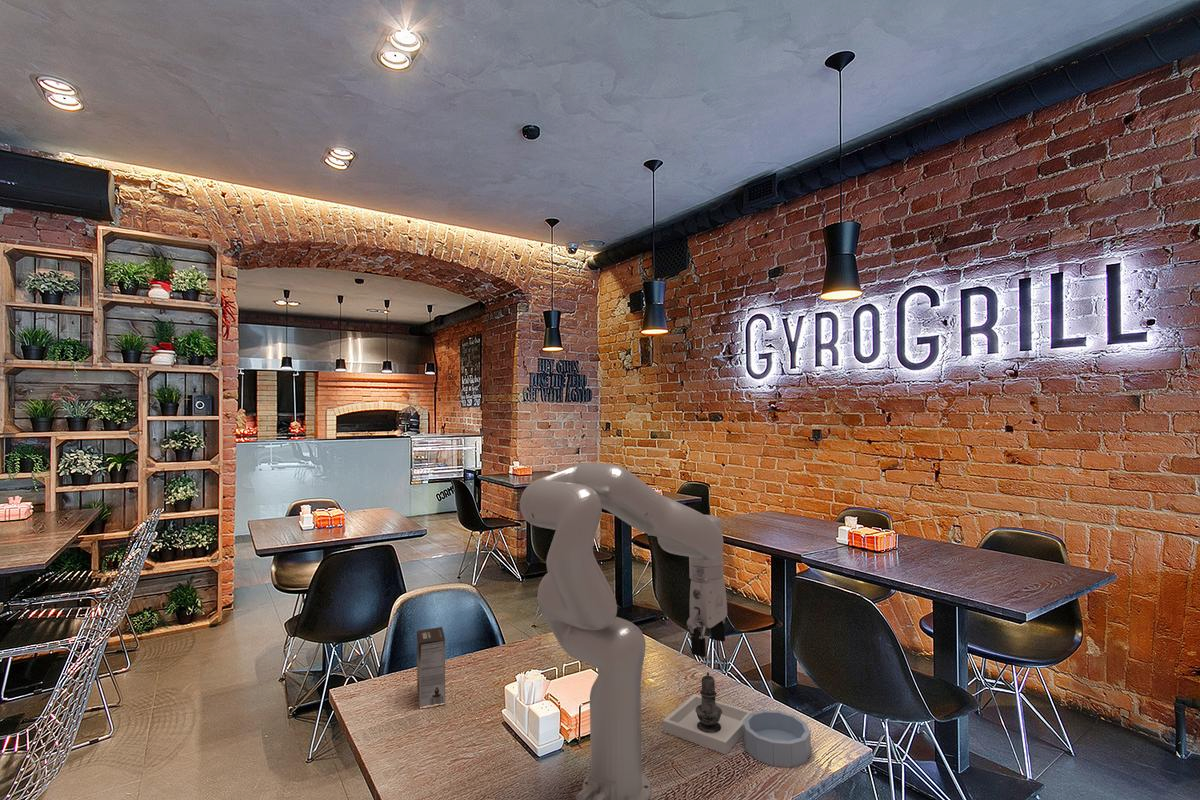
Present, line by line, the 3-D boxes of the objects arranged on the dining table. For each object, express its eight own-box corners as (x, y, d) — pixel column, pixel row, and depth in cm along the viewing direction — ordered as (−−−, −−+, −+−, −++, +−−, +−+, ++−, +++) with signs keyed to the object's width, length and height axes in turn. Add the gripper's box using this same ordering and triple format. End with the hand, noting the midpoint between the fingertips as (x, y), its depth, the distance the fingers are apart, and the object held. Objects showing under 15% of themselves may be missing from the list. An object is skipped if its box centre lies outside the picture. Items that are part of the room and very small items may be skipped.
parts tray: (726, 755, 118) (725, 742, 118) (662, 731, 127) (662, 720, 127) (754, 723, 130) (754, 712, 130) (694, 704, 139) (694, 693, 139)
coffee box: (416, 693, 146) (416, 629, 147) (442, 689, 148) (442, 626, 149) (419, 710, 138) (418, 642, 138) (446, 705, 140) (446, 638, 140)
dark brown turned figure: (722, 735, 125) (721, 678, 125) (695, 732, 126) (694, 676, 126) (722, 721, 130) (721, 667, 131) (696, 718, 132) (695, 665, 132)
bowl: (797, 774, 111) (797, 751, 111) (734, 752, 119) (734, 729, 119) (818, 743, 121) (817, 722, 121) (758, 724, 129) (758, 704, 129)
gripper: (703, 583, 120) (706, 666, 120) (737, 564, 134) (740, 638, 134) (672, 578, 125) (675, 657, 124) (708, 560, 139) (710, 631, 138)
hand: (708, 647), depth 129 cm, fingers open, 9 cm apart
